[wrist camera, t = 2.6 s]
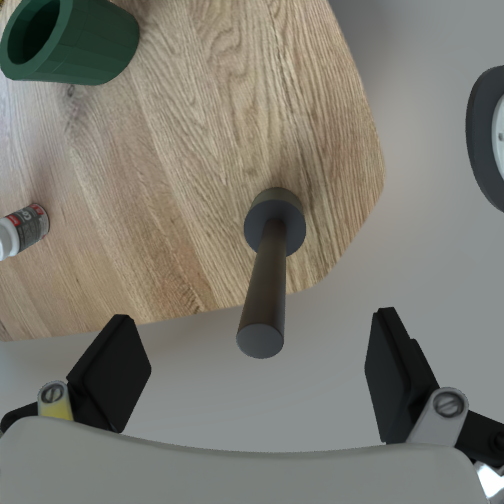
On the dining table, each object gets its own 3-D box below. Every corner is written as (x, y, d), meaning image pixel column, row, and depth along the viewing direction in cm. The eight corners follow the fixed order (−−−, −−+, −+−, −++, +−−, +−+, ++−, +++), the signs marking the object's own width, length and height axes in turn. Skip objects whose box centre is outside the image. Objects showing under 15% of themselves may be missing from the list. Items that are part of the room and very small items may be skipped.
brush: (301, 185, 26) (325, 283, 10) (304, 236, 28) (321, 382, 11) (248, 189, 27) (185, 288, 10) (253, 238, 29) (209, 382, 12)
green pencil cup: (138, -1, 20) (78, -40, 10) (141, 71, 23) (70, 51, 13) (71, 28, 21) (4, 11, 11) (72, 96, 24) (-3, 96, 14)
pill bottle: (47, 204, 30) (0, 226, 22) (52, 239, 32) (8, 267, 24) (25, 202, 30) (-20, 223, 22) (29, 235, 32) (-12, 260, 24)
